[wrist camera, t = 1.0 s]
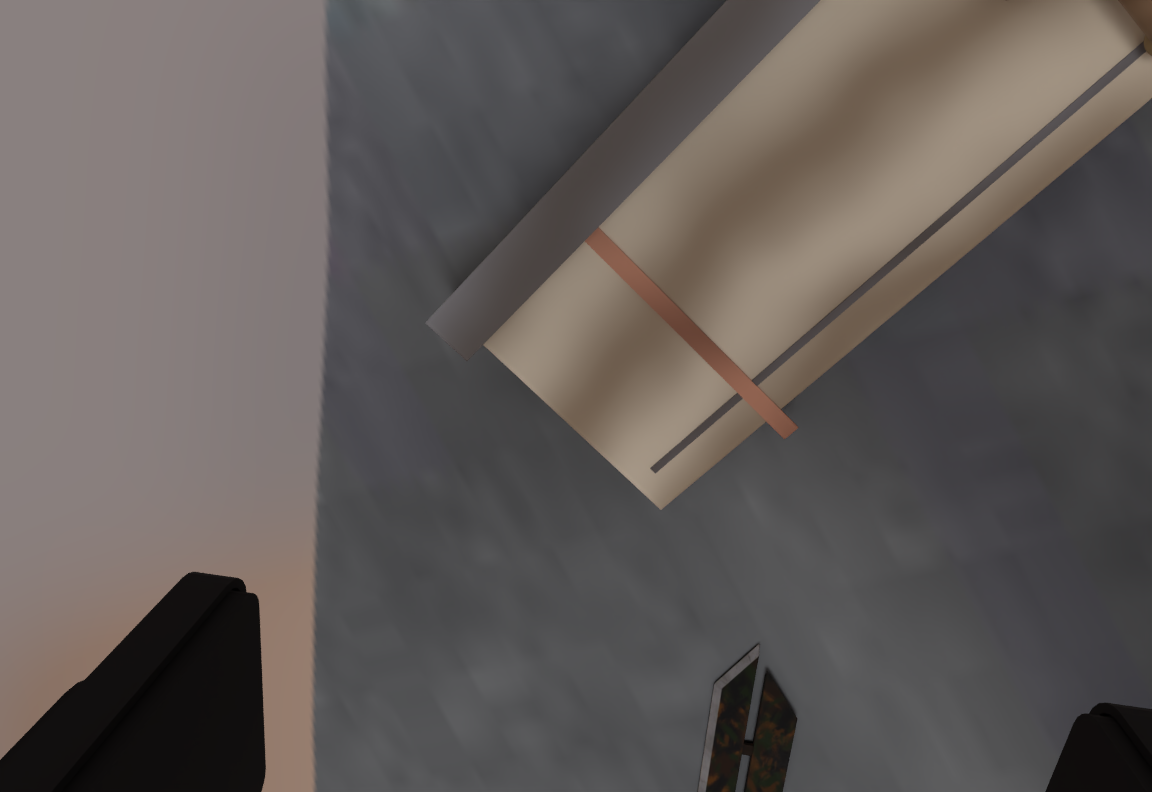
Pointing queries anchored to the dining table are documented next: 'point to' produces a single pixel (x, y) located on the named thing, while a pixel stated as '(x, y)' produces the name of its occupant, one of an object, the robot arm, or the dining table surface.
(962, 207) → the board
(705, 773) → the knife
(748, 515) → the dining table surface
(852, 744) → the dining table surface
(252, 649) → the robot arm
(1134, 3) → the brown block with peg
